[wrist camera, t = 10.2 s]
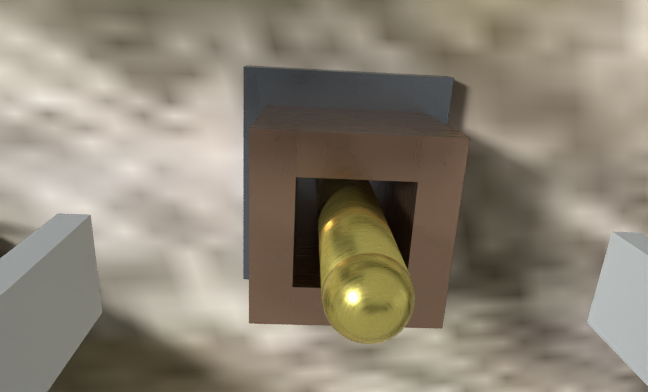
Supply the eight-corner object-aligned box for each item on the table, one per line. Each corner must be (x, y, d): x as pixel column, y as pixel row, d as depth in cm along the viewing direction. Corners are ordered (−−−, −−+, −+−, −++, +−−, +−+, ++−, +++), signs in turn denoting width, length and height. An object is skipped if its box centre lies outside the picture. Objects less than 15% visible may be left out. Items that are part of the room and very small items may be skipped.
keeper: (246, 65, 21) (168, 94, 9) (447, 76, 21) (612, 116, 10) (246, 269, 24) (187, 482, 12) (421, 275, 24) (523, 487, 13)
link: (266, 104, 20) (249, 128, 15) (425, 112, 21) (469, 138, 15) (264, 252, 23) (249, 323, 17) (409, 257, 23) (442, 328, 17)
